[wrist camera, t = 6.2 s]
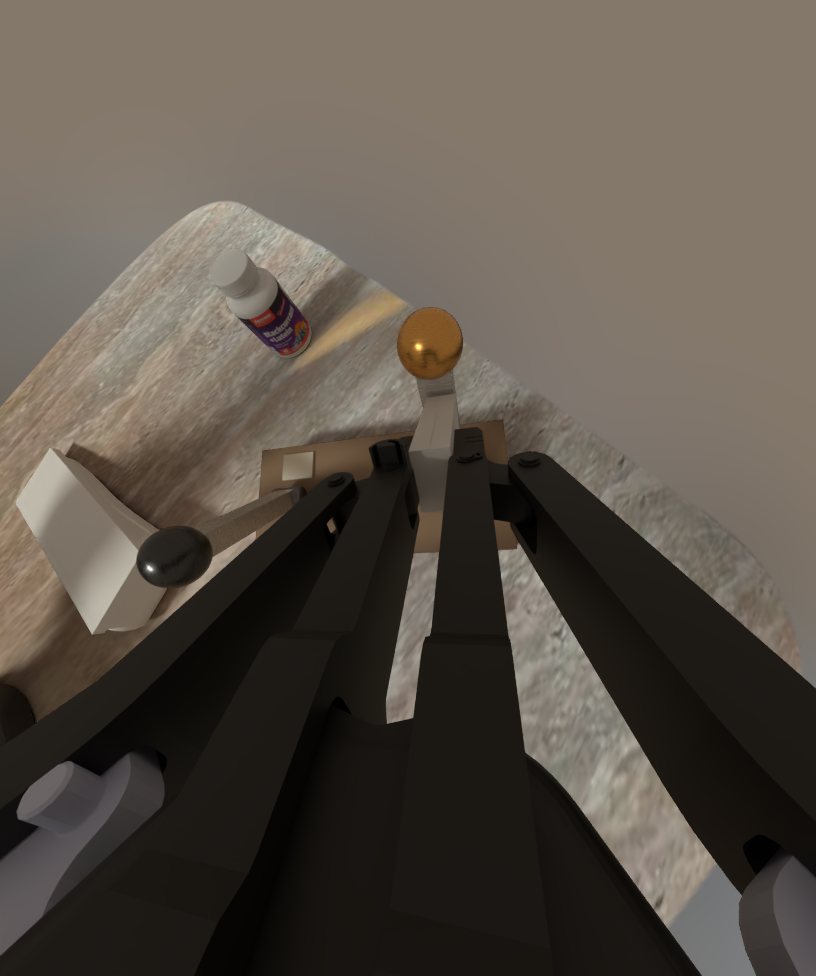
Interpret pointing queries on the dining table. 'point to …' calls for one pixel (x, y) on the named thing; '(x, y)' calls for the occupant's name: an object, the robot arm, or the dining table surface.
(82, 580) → the wall bracket
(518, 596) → the dining table surface
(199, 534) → the black knob lever
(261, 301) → the pill bottle
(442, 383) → the orange knob lever
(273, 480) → the switch box
